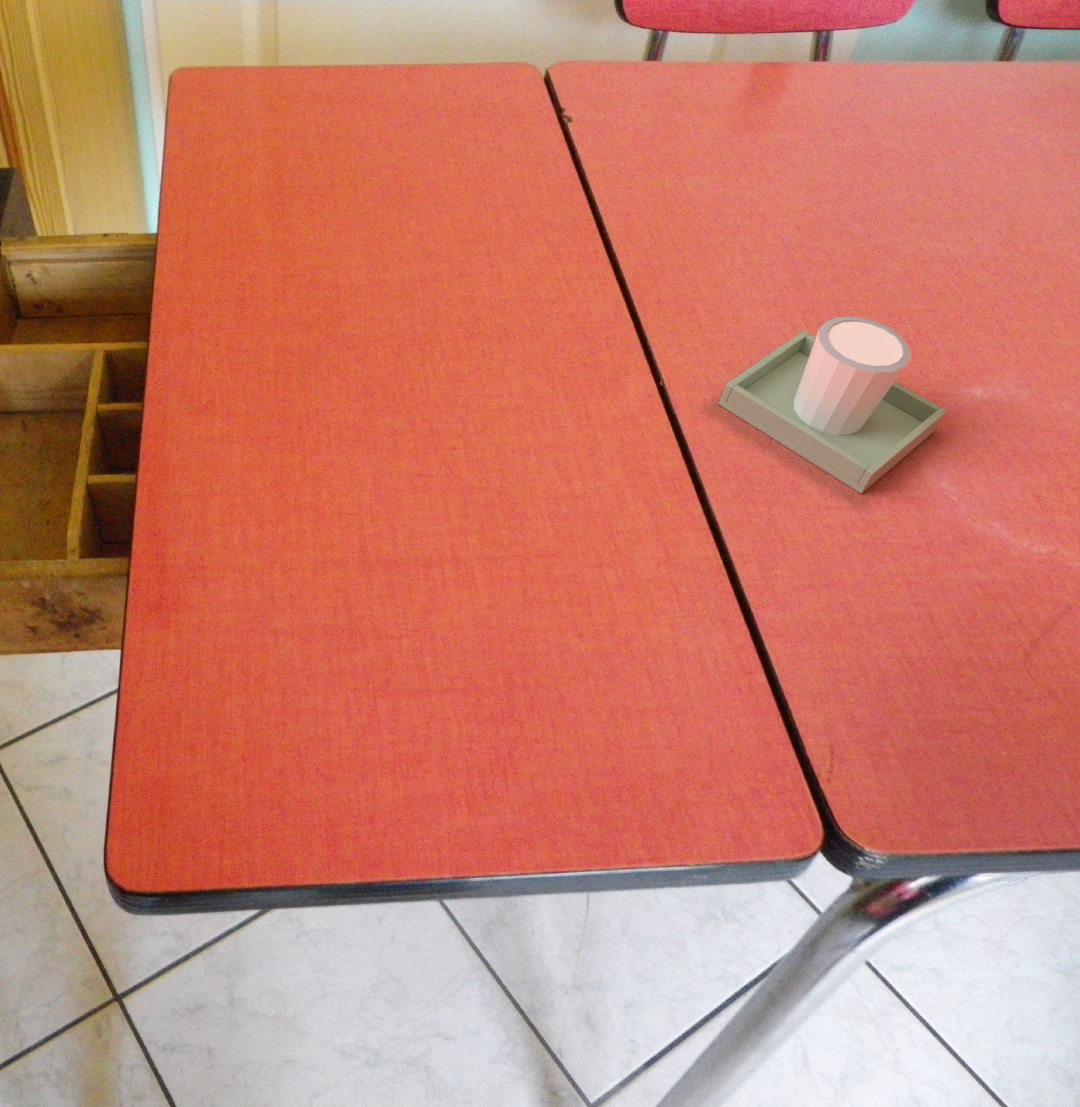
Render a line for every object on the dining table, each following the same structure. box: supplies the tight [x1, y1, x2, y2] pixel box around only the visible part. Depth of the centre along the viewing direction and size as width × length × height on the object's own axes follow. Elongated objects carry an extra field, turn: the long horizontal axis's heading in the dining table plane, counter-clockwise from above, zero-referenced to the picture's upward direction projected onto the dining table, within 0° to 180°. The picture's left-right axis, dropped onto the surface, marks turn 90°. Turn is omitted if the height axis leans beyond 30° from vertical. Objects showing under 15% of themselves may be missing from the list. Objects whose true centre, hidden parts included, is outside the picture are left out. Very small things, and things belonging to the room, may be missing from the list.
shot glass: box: [794, 316, 912, 435], centre depth 80 cm, size 7×7×7 cm
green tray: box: [718, 330, 948, 494], centre depth 82 cm, size 13×11×2 cm
